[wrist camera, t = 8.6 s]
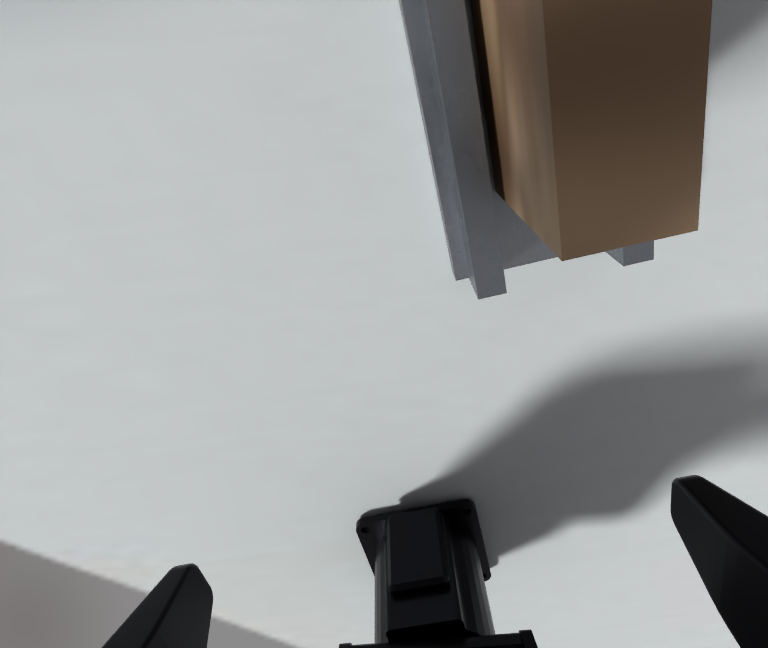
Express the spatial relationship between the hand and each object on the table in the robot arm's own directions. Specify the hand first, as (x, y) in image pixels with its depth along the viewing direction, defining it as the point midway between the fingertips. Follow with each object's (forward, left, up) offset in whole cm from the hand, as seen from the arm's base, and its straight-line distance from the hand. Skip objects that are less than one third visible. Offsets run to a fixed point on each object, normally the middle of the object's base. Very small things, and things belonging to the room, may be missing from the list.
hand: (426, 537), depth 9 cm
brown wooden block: (+7, -6, -11) cm, 14 cm away
